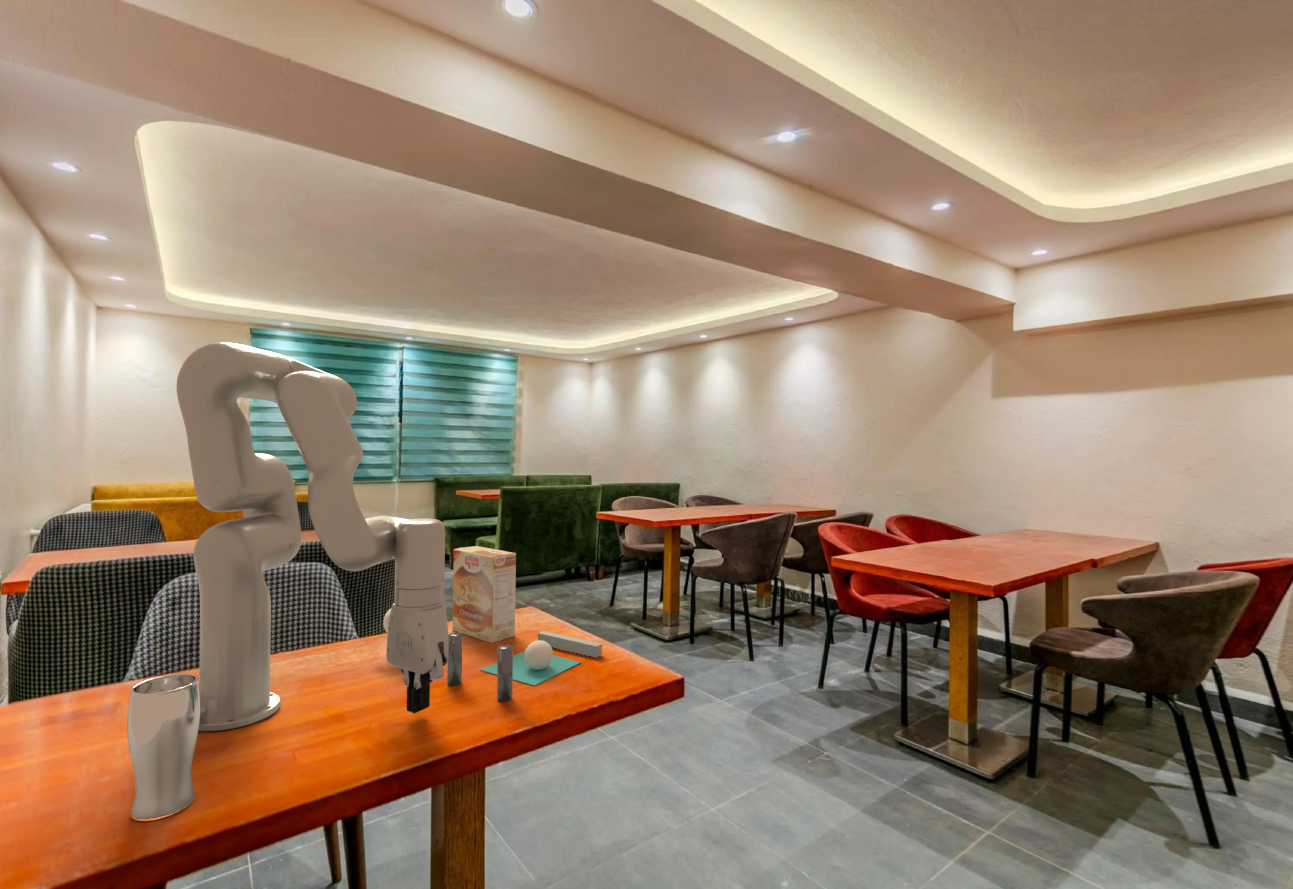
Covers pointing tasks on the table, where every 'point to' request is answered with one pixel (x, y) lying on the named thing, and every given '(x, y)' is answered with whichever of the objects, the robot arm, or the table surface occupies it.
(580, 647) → the stopper wall
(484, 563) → the coffeecake box
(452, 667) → the left post
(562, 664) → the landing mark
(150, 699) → the beer glass
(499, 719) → the table surface
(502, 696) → the right post
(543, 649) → the ball
